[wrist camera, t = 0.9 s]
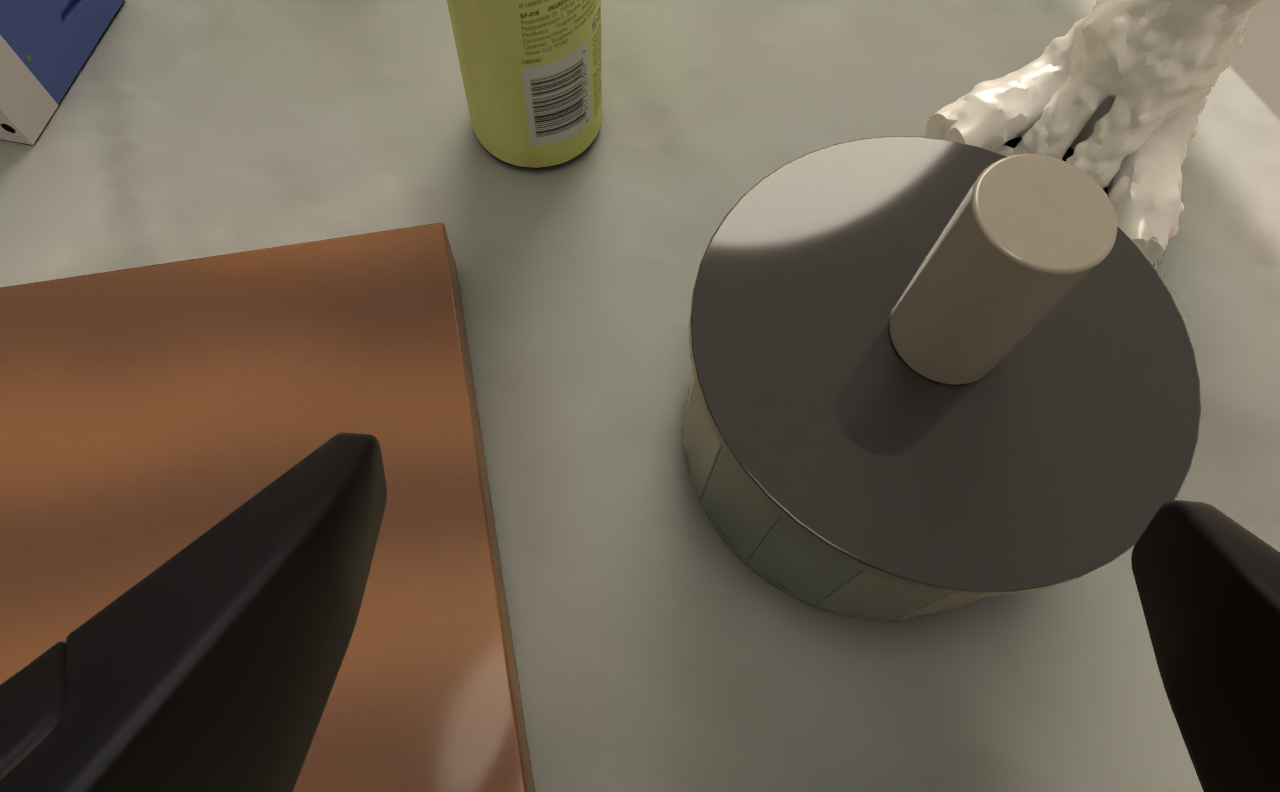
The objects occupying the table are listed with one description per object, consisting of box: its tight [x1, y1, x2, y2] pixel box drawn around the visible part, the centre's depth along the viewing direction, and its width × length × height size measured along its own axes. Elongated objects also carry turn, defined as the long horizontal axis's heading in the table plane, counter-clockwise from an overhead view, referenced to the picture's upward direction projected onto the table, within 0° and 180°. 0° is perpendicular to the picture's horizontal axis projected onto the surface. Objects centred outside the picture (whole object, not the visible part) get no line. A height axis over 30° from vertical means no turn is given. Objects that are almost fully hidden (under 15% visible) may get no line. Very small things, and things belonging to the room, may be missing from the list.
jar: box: [682, 368, 985, 621], centre depth 24 cm, size 12×12×6 cm
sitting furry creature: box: [926, 0, 1268, 264], centre depth 27 cm, size 10×9×12 cm
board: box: [0, 223, 535, 792], centre depth 23 cm, size 18×20×2 cm
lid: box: [689, 136, 1201, 596], centre depth 18 cm, size 13×13×6 cm
